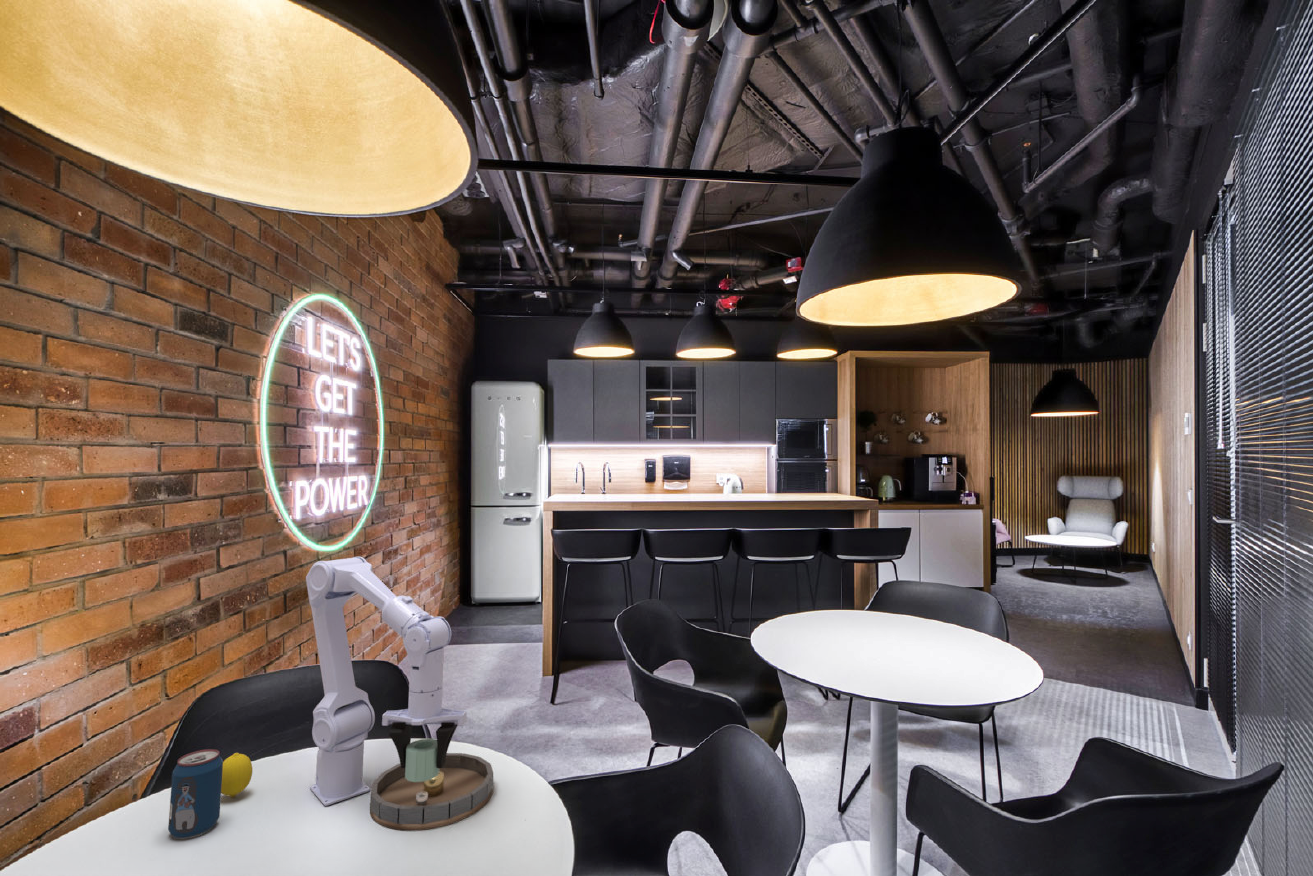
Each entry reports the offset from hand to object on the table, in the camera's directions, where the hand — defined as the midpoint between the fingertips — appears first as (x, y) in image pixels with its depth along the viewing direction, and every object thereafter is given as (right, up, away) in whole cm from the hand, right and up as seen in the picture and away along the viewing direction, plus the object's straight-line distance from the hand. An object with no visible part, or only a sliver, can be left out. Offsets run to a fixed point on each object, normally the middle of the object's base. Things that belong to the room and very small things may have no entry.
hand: (423, 765), depth 107 cm
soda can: (-37, -8, -6) cm, 38 cm away
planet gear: (0, -1, 0) cm, 1 cm away
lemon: (-38, -9, +5) cm, 39 cm away
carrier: (0, -9, +5) cm, 10 cm away
